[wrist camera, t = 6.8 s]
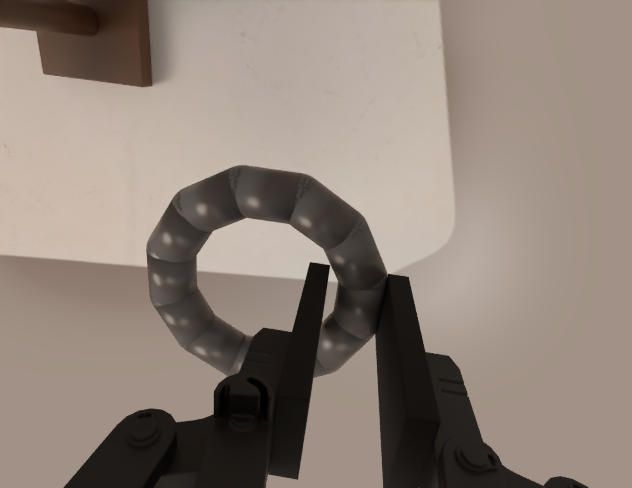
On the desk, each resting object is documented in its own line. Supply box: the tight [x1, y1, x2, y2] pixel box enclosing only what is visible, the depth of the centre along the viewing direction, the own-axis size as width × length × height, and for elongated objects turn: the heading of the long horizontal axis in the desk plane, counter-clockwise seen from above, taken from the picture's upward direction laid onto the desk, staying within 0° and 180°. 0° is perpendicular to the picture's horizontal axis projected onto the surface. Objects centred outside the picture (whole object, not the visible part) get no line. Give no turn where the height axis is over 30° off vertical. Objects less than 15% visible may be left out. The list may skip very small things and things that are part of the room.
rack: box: [0, 0, 152, 87], centre depth 25 cm, size 8×8×12 cm
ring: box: [146, 165, 387, 378], centre depth 15 cm, size 9×9×2 cm
